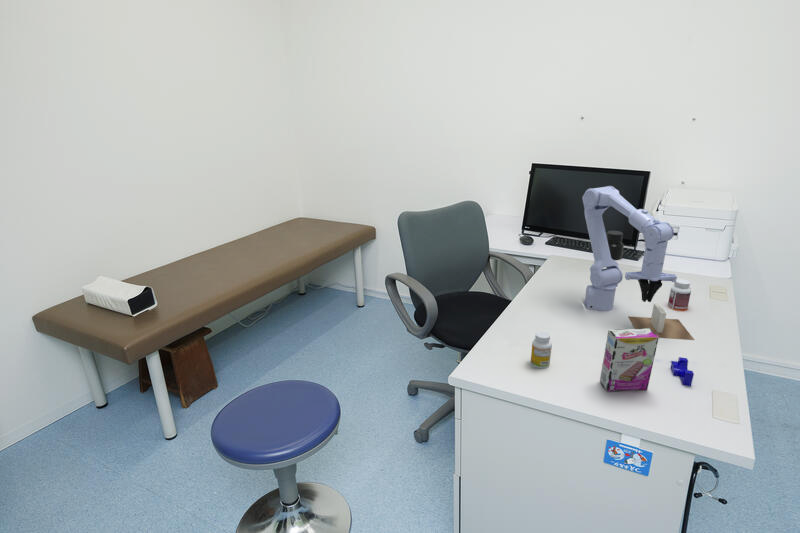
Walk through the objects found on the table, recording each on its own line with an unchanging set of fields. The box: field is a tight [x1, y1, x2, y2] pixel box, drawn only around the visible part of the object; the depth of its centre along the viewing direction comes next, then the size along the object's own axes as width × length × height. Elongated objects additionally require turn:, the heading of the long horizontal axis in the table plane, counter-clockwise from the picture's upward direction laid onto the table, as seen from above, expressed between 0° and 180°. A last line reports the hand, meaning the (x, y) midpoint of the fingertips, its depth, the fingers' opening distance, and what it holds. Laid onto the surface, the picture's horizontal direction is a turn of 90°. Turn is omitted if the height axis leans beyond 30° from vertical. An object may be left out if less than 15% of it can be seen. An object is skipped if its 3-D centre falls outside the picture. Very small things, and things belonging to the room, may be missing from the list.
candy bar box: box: [599, 328, 660, 392], centre depth 121 cm, size 11×5×16 cm, turn 92°
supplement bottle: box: [530, 331, 553, 369], centre depth 133 cm, size 5×5×10 cm
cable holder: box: [669, 356, 695, 387], centre depth 127 cm, size 8×4×4 cm, turn 161°
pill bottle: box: [667, 278, 692, 312], centre depth 163 cm, size 6×6×11 cm
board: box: [627, 316, 695, 341], centre depth 151 cm, size 16×14×1 cm
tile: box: [650, 302, 667, 333], centre depth 150 cm, size 2×7×7 cm, turn 169°
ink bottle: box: [606, 230, 625, 261], centre depth 215 cm, size 10×9×12 cm
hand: (646, 300), depth 149 cm, fingers closed
